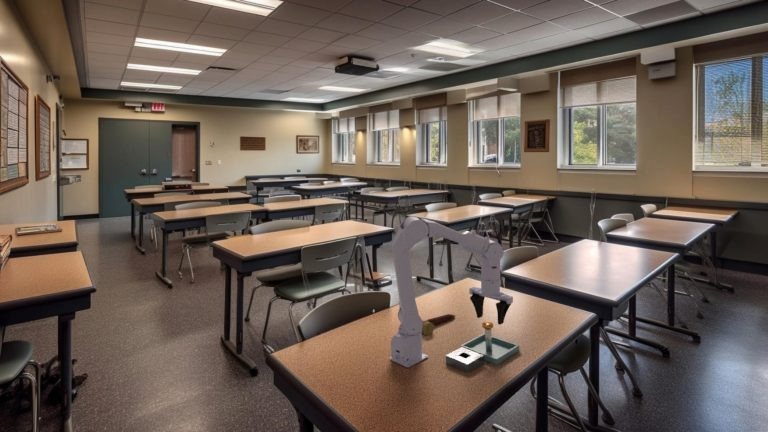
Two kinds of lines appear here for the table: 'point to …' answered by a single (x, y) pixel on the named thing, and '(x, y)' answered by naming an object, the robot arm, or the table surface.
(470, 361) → the block
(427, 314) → the table surface
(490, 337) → the steel pin
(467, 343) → the tray
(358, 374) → the table surface
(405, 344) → the robot arm
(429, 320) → the gavel
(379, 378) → the table surface
